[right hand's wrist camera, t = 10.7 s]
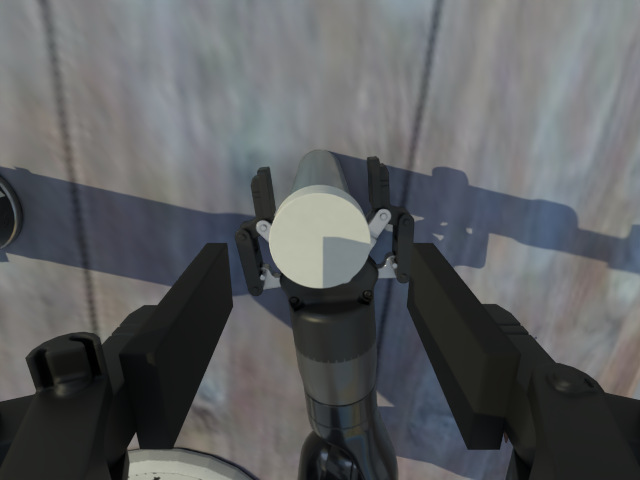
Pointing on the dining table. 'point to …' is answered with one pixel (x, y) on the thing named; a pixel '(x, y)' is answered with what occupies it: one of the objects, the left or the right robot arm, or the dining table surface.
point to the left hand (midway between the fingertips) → (317, 163)
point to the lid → (319, 237)
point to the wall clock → (180, 466)
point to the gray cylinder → (319, 171)
